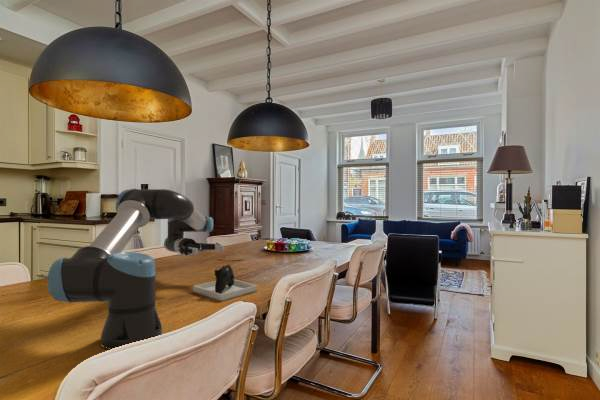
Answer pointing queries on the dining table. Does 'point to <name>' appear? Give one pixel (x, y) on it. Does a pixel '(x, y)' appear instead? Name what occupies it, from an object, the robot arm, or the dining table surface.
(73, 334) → the dining table surface
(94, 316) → the dining table surface
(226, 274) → the gaming controller
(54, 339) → the dining table surface
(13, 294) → the dining table surface
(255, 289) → the tray
